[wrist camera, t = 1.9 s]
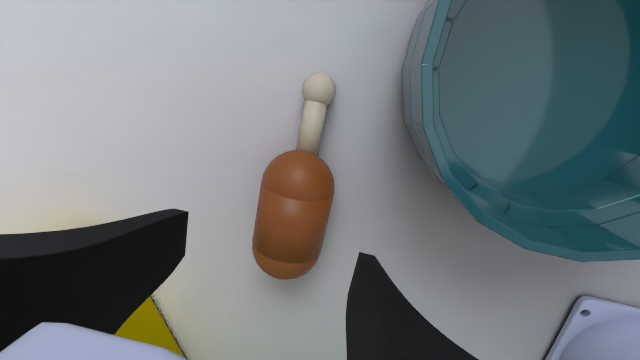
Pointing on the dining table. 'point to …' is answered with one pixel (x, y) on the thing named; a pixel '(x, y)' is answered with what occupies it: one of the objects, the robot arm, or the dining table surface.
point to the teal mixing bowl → (533, 118)
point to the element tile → (149, 328)
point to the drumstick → (296, 194)
